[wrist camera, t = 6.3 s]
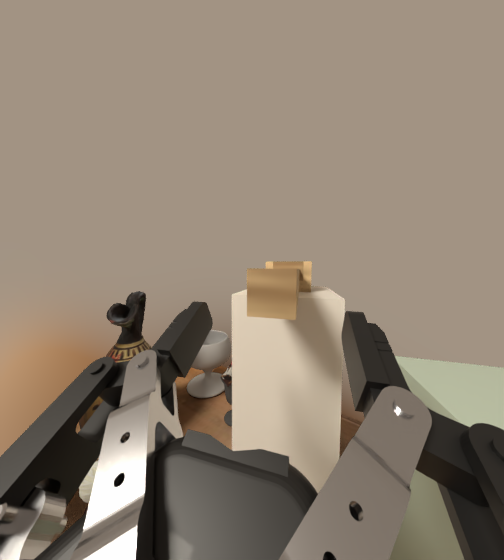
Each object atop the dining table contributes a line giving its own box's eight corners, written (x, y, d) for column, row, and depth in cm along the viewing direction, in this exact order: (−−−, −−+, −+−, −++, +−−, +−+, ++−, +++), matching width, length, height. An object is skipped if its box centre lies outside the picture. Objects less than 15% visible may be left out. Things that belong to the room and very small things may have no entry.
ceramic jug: (163, 460, 34) (159, 297, 32) (58, 485, 30) (47, 301, 28) (175, 397, 50) (173, 288, 48) (109, 408, 46) (104, 289, 44)
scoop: (323, 321, 10) (325, 250, 10) (224, 314, 12) (224, 252, 12) (308, 286, 32) (309, 263, 31) (273, 285, 33) (274, 263, 33)
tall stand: (334, 589, 20) (344, 299, 18) (232, 545, 23) (231, 294, 21) (321, 460, 34) (326, 286, 32) (257, 444, 37) (258, 284, 35)
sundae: (242, 403, 48) (242, 347, 47) (253, 423, 42) (253, 359, 41) (217, 411, 45) (217, 352, 44) (225, 434, 39) (224, 365, 38)
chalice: (218, 407, 47) (217, 349, 46) (172, 395, 51) (171, 342, 50) (238, 376, 60) (238, 331, 59) (200, 369, 64) (200, 327, 63)
